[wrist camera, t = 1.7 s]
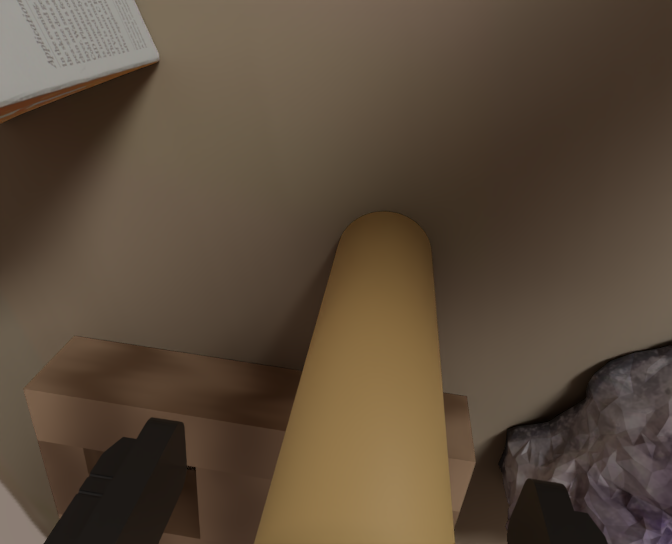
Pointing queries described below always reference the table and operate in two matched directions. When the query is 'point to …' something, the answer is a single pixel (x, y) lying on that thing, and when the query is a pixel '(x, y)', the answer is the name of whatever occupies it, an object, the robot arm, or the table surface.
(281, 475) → the peg
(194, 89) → the table surface
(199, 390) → the hole block
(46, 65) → the small box
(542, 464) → the geode
